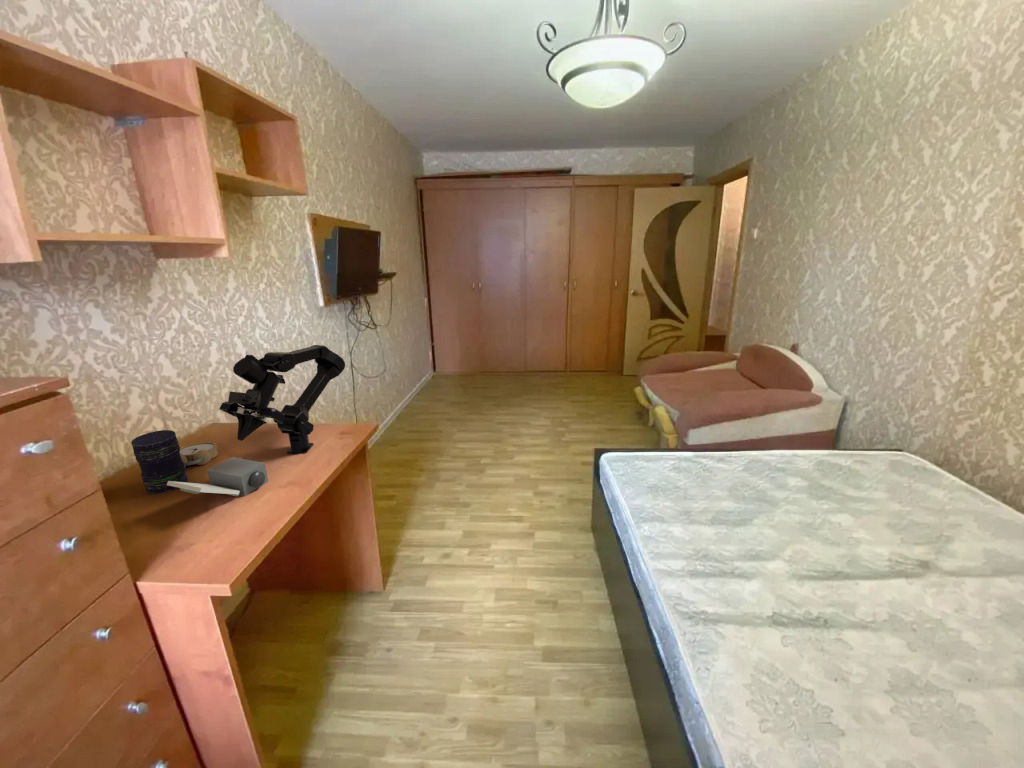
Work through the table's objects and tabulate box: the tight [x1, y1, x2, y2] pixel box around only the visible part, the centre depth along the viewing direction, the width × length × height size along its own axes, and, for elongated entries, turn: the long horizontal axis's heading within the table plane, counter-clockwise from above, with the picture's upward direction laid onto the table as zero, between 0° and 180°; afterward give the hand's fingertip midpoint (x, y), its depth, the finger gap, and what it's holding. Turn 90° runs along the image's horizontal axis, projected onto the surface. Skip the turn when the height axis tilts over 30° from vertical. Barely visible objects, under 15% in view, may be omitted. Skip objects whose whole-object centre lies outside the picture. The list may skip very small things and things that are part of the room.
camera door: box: [167, 481, 240, 497], centre depth 114 cm, size 2×11×12 cm
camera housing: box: [206, 456, 269, 497], centre depth 124 cm, size 8×13×6 cm, turn 73°
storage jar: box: [130, 429, 189, 495], centre depth 122 cm, size 10×10×15 cm
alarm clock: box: [180, 441, 219, 467], centre depth 138 cm, size 11×5×15 cm
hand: (239, 440), depth 123 cm, fingers closed
